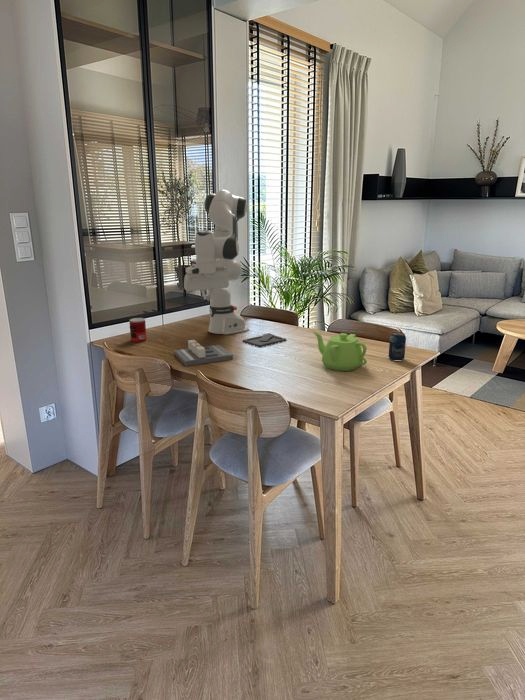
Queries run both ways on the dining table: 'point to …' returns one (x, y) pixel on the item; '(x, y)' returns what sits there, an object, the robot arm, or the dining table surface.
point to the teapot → (342, 352)
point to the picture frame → (264, 340)
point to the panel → (211, 355)
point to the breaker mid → (195, 347)
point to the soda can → (397, 346)
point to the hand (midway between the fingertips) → (207, 299)
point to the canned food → (138, 329)
